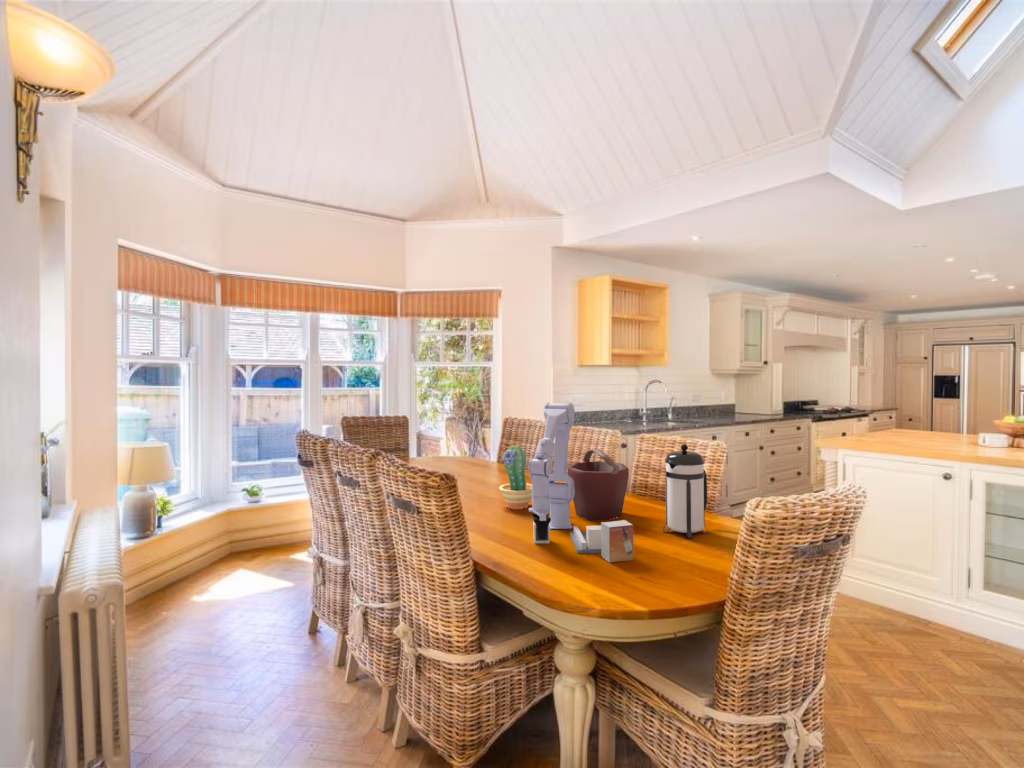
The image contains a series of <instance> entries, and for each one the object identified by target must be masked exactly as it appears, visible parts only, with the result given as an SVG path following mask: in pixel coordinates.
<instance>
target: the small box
mask: <svg viewBox="0 0 1024 768" xmlns="http://www.w3.org/2000/svg"><path fill="white" fill-rule="evenodd" d="M600 525H601V553H600V555H601V556H600V557H602V559H604V560H606V561H607V562H608V563H615V562H616V563H617V562H627V561H633V560H634V525H633V523H630V522H629V521H627V520H626V519H622V520H613V521H600Z"/></svg>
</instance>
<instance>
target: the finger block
mask: <svg viewBox="0 0 1024 768" xmlns="http://www.w3.org/2000/svg"><path fill="white" fill-rule="evenodd" d="M532 526H533V527H532V532H533V534H532V535H533V537H532V538H533V539H534V540H533V544H550V542H551V539H550V538H551V537H550V530H551V529H550V527H549V525H548V528H547V534H546V539H539V537H538V532H537V527H536V524H535V522H534V520H533V521H532Z"/></svg>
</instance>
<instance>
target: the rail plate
mask: <svg viewBox="0 0 1024 768" xmlns="http://www.w3.org/2000/svg"><path fill="white" fill-rule="evenodd" d="M572 527H573V528H572V529H573V530H572V531H569V537H570V539H571V541H572V544H573V546H574V548H575V551H576V552H577V554H601V524H600V525H586V527H585V528H586V530H585V531H582V530H580V528H579V525H576V526H575V525H572Z"/></svg>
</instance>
